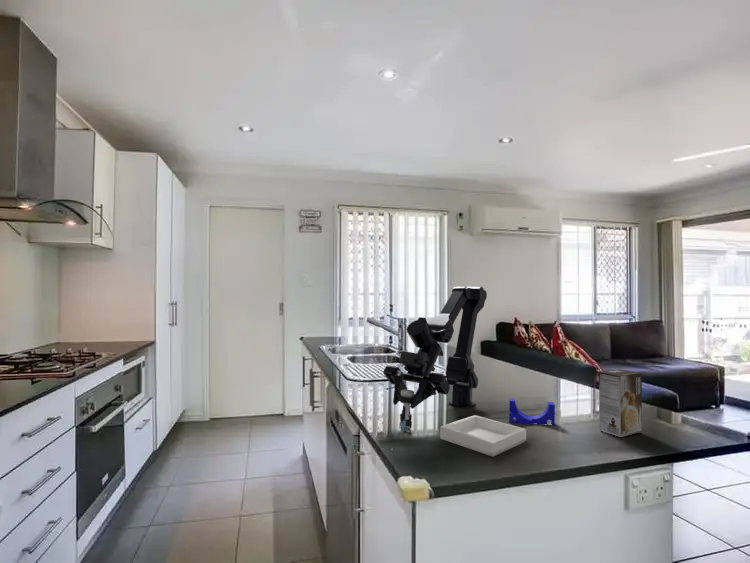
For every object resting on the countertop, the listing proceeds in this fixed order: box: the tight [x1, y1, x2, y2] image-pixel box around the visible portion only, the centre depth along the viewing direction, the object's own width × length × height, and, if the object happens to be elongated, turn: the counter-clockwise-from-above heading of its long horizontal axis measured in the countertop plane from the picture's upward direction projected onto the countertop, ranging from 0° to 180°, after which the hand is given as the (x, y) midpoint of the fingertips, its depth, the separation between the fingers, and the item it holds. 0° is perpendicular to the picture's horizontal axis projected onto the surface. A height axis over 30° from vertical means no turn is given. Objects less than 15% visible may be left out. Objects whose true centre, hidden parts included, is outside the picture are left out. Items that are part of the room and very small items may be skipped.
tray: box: [439, 414, 527, 458], centre depth 106 cm, size 15×15×3 cm
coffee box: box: [598, 368, 643, 435], centre depth 114 cm, size 9×6×16 cm
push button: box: [397, 389, 416, 433], centre depth 113 cm, size 7×5×10 cm
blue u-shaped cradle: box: [508, 397, 556, 426], centre depth 121 cm, size 12×4×6 cm, turn 72°
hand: (402, 405), depth 112 cm, fingers closed on push button, 5 cm apart
